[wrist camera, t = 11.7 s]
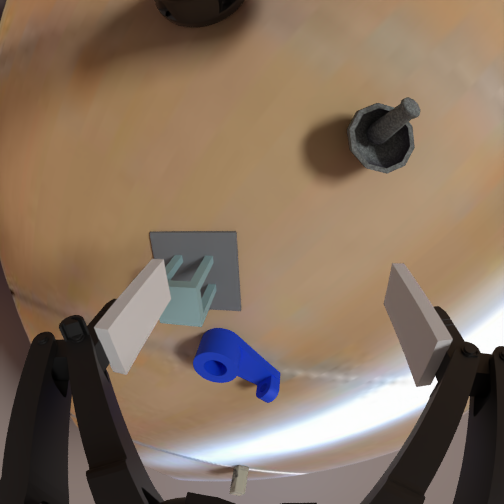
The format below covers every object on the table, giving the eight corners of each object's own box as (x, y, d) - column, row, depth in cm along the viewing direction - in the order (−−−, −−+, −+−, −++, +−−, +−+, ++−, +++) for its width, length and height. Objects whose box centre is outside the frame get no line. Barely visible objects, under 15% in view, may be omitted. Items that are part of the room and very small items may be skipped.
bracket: (194, 341, 62) (184, 365, 55) (218, 320, 58) (210, 345, 51) (260, 384, 66) (257, 409, 59) (286, 368, 62) (285, 393, 55)
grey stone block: (239, 464, 89) (234, 491, 77) (249, 467, 89) (245, 494, 78) (233, 467, 91) (228, 494, 80) (243, 470, 92) (239, 496, 80)
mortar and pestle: (379, 176, 42) (407, 194, 32) (330, 147, 42) (345, 155, 31) (409, 119, 38) (445, 121, 27) (361, 87, 37) (386, 77, 26)
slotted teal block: (174, 255, 52) (151, 285, 42) (212, 255, 51) (195, 288, 41) (180, 288, 55) (160, 322, 45) (216, 290, 54) (201, 326, 44)
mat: (150, 231, 51) (149, 232, 51) (236, 231, 49) (235, 232, 49) (165, 304, 58) (164, 305, 57) (241, 309, 56) (240, 310, 55)
